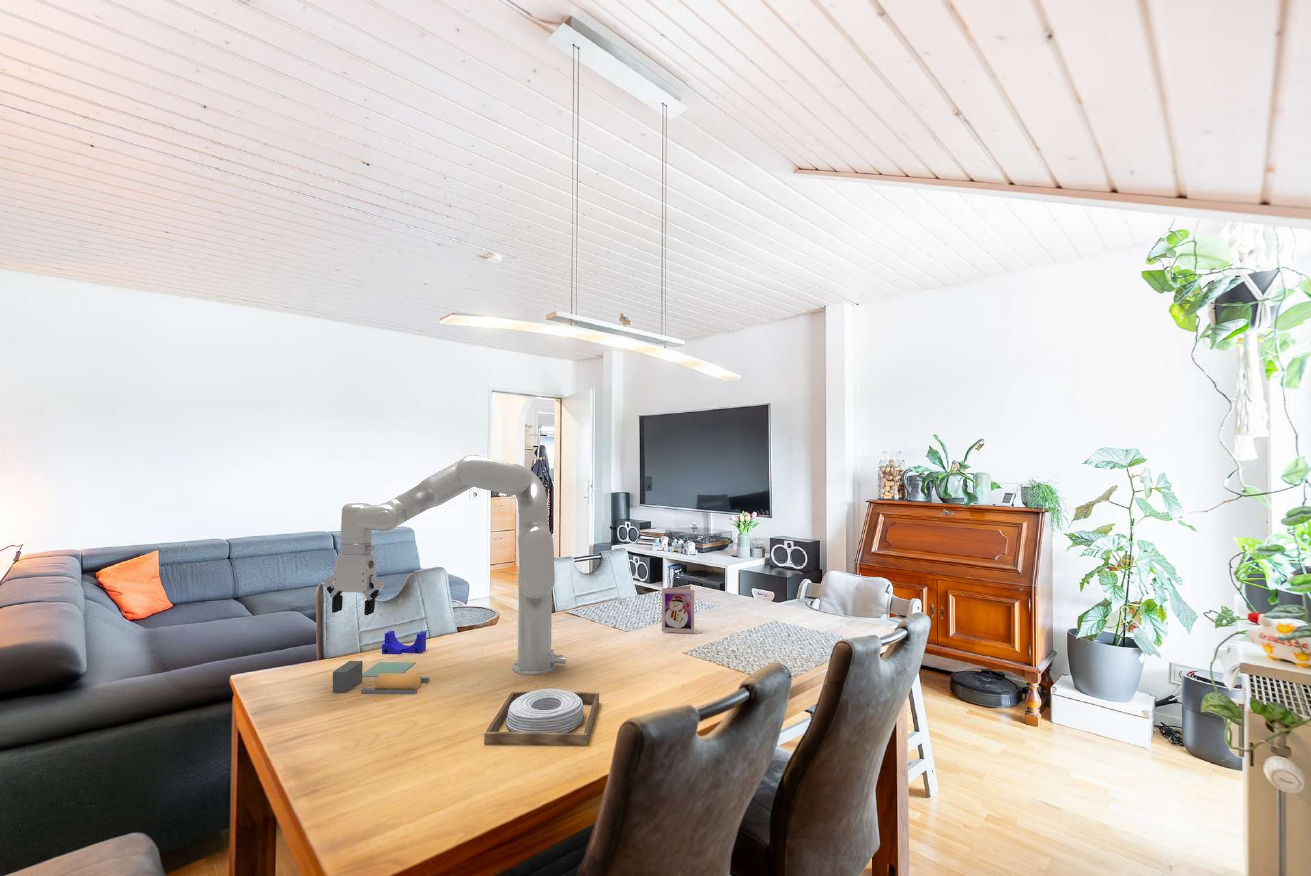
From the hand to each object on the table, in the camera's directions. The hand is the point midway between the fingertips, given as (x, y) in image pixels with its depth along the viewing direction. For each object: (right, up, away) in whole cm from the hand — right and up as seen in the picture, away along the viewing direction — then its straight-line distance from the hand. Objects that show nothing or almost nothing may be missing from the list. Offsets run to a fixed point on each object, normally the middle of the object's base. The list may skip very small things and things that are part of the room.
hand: (353, 612), depth 156 cm
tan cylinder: (+14, -19, -4) cm, 24 cm away
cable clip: (+3, -20, +25) cm, 33 cm away
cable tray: (+57, -19, -24) cm, 65 cm away
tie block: (0, -19, -3) cm, 19 cm away
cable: (+56, -19, -24) cm, 64 cm away
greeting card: (+90, -21, +49) cm, 105 cm away
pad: (+5, -20, +10) cm, 22 cm away
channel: (+13, -19, -4) cm, 24 cm away
